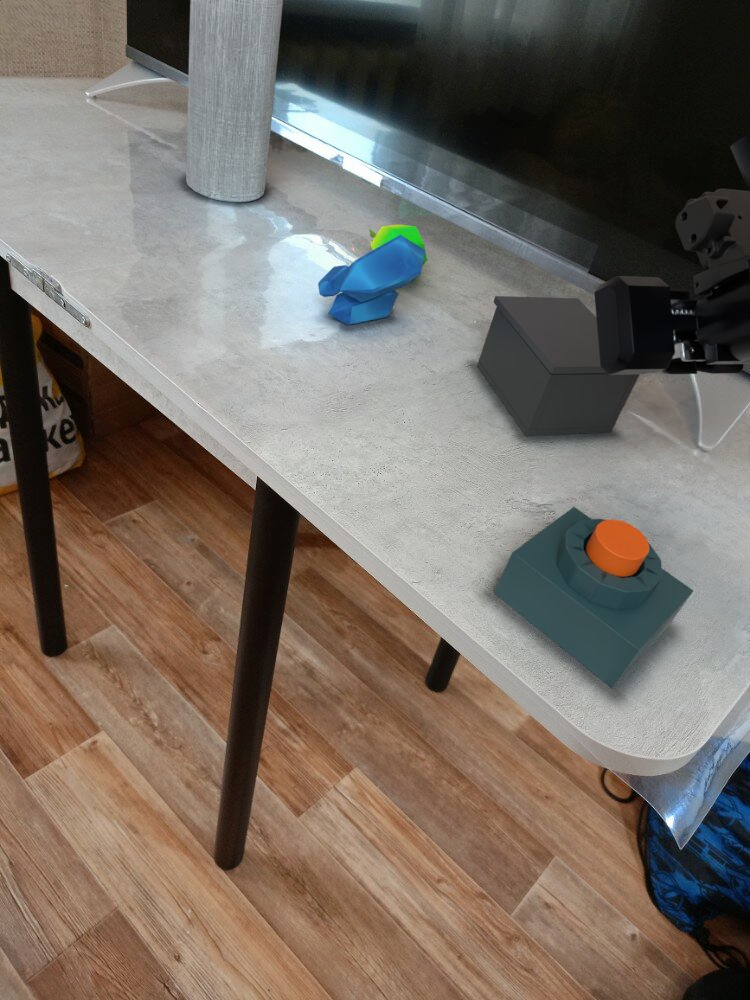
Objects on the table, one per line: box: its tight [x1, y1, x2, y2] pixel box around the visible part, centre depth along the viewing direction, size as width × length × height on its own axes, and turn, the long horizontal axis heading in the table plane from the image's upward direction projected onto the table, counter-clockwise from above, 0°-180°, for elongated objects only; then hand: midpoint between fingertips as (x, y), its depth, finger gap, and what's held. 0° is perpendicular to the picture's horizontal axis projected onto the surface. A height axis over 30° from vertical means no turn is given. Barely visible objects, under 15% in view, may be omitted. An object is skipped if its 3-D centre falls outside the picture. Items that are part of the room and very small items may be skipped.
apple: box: [368, 223, 428, 268], centre depth 87 cm, size 7×6×9 cm
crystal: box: [317, 235, 426, 326], centre depth 77 cm, size 7×9×12 cm
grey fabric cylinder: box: [185, 0, 284, 203], centre depth 88 cm, size 10×10×27 cm
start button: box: [586, 519, 650, 577], centre depth 49 cm, size 4×4×2 cm
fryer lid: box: [493, 295, 606, 374], centre depth 70 cm, size 12×9×1 cm
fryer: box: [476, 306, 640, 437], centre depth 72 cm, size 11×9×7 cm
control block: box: [493, 506, 694, 689], centre depth 52 cm, size 10×8×6 cm
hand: (637, 353), depth 61 cm, fingers closed
